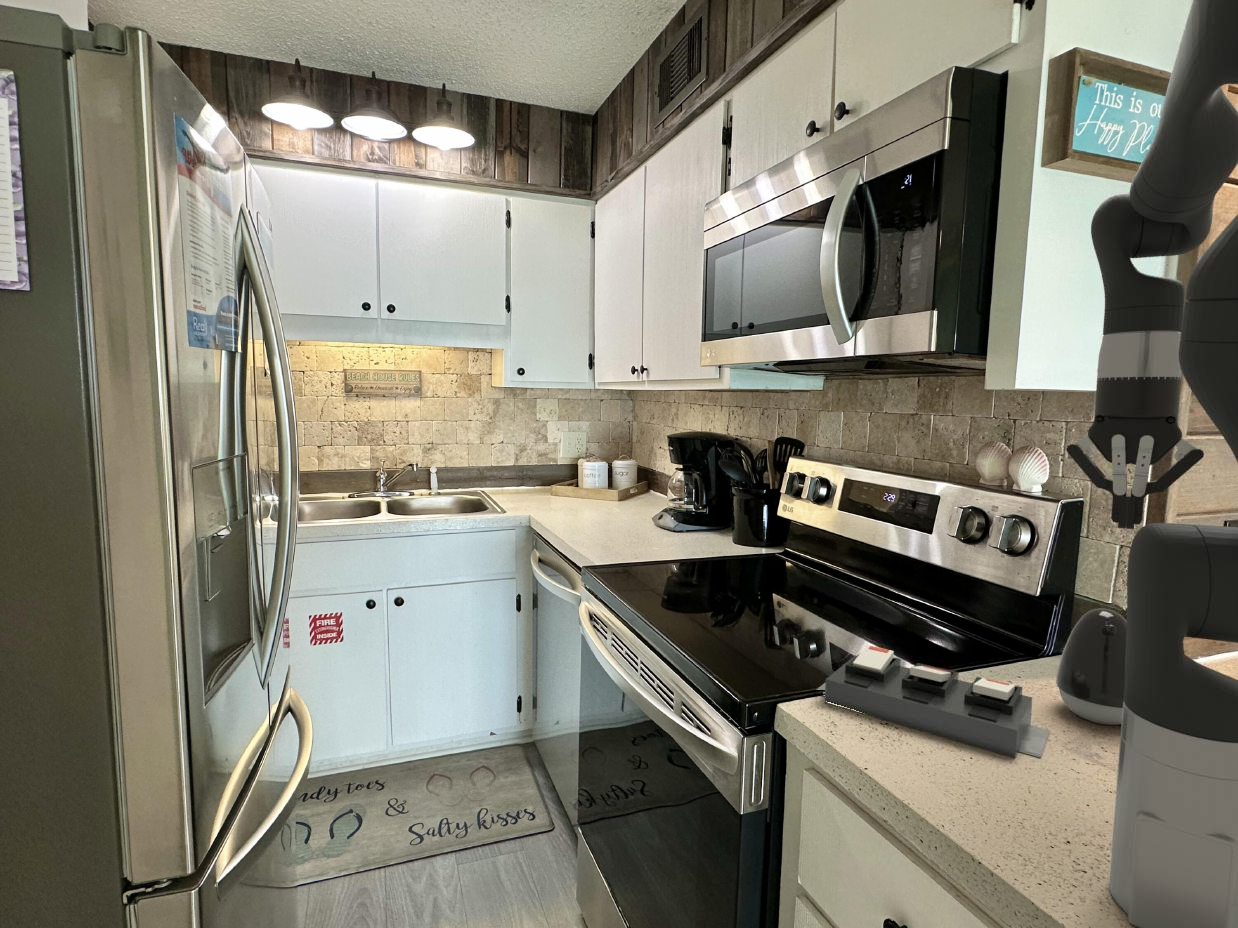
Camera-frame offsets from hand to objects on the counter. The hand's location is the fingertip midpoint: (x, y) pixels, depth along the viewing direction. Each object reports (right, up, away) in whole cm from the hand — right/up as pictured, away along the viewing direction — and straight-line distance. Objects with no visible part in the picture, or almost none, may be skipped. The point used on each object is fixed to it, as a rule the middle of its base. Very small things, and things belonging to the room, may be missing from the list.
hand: (1126, 527), depth 78 cm
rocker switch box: (-15, -27, +17) cm, 36 cm away
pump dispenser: (+8, -28, +16) cm, 33 cm away
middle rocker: (-14, -22, +19) cm, 32 cm away
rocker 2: (-8, -23, +14) cm, 28 cm away
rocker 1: (-20, -22, +24) cm, 38 cm away
